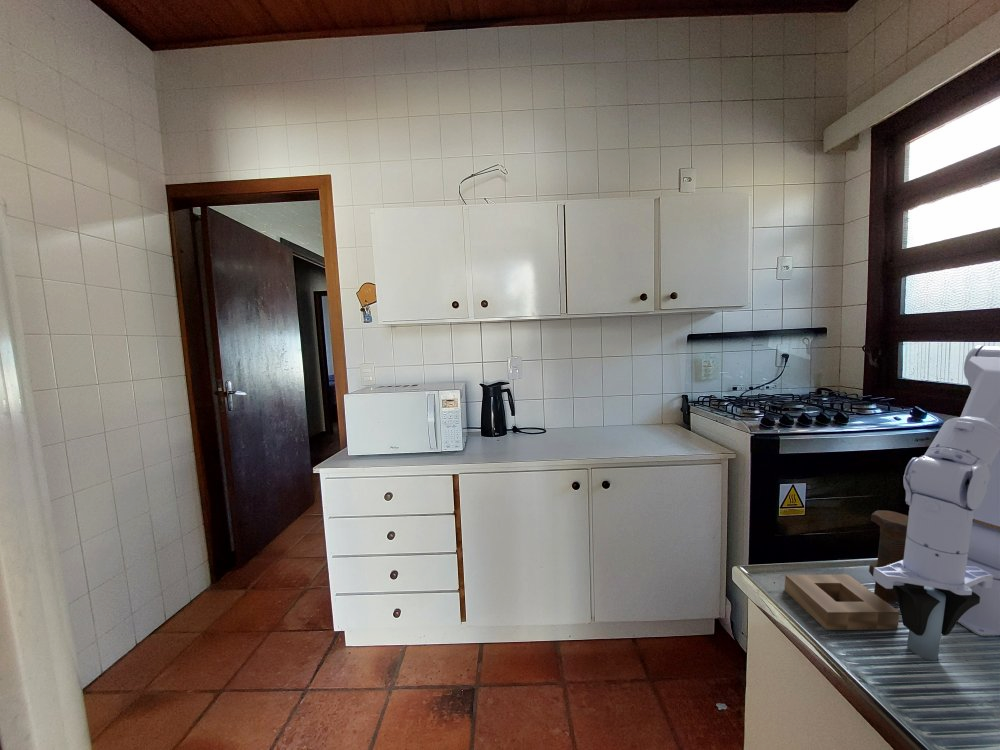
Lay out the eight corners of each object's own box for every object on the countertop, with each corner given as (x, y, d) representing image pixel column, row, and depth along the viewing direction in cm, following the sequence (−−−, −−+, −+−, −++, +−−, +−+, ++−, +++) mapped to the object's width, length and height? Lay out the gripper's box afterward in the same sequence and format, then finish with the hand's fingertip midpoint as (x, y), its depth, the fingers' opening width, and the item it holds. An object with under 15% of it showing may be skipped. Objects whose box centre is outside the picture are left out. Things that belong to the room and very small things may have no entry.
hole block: (846, 589, 68) (847, 574, 67) (897, 629, 59) (899, 611, 58) (784, 590, 68) (785, 574, 68) (826, 629, 59) (827, 612, 59)
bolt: (918, 612, 62) (929, 527, 60) (882, 608, 63) (892, 524, 61) (890, 588, 68) (899, 510, 66) (857, 585, 69) (865, 508, 67)
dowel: (921, 642, 56) (928, 584, 55) (944, 660, 53) (953, 598, 52) (901, 642, 56) (908, 584, 55) (923, 660, 53) (930, 599, 52)
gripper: (914, 560, 49) (902, 653, 51) (1028, 559, 49) (1013, 653, 50) (863, 531, 56) (854, 614, 58) (962, 530, 56) (951, 613, 57)
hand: (924, 630), depth 54 cm, fingers closed on dowel, 3 cm apart
